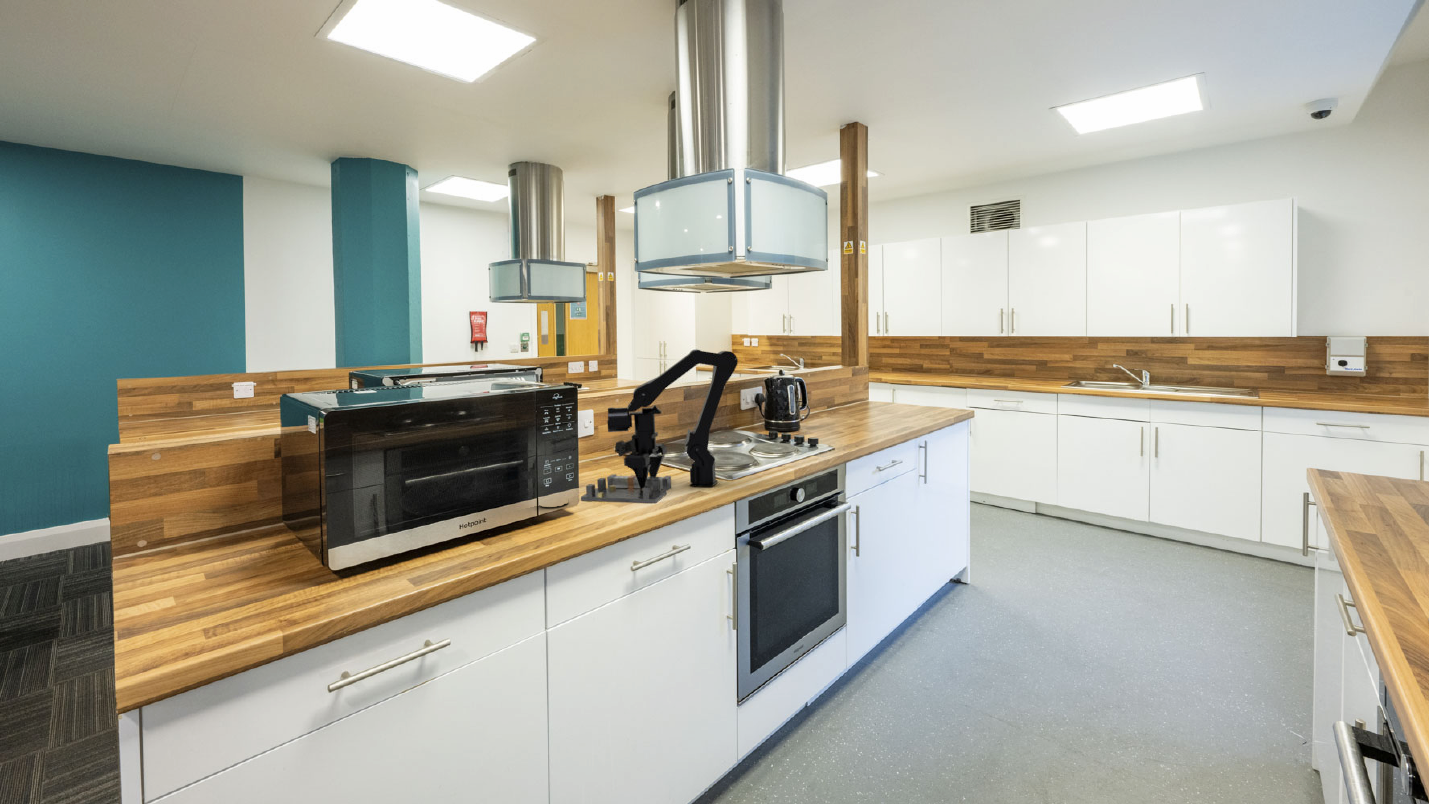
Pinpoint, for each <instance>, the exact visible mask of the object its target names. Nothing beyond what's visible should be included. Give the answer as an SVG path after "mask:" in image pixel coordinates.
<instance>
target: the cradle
mask: <svg viewBox="0 0 1429 804" xmlns="http://www.w3.org/2000/svg"><path fill="white" fill-rule="evenodd" d="M596 483H597V488H596V484H595V483H594V484H593V483H591V484H587V485H586V486H585V489H586V490H585V491H586V493H585V494H583V495H581V496H580V501H585V502H608V503H610V502H613V503H635V504H637V503H638V504H639V503H643V504H656V503H658V502H659V501H661V500H662V499H663V498H664V497H665V496H666V495H667V490H663V489H660V480H659V479H654V480H653V481H652V489H651V486H644V487H643V489H636V488H635V489H628V488H616V486H615V485H611V486H609V489H608V488H607V477H600V478H598V479H597V482H596ZM663 496H664V497H663ZM658 500H659V501H658ZM657 501H658V502H657Z"/></svg>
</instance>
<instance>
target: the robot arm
mask: <svg viewBox="0 0 1429 804" xmlns="http://www.w3.org/2000/svg"><path fill="white" fill-rule="evenodd" d="M738 363H739V361H738V358H737V355H736V354H735V353H734V352H732V351H729V350H721V351H719V352H717V353H716V352H709V351H704V350H701V349H692V350H690V352H689V353H688V354H687V355H685V356H683V358H681V359H680V360H679V361H677V362H676V363H675V364H673V365H672V366H670V367H669V368H668V369H667V370H665V371H664V372H662V373H661V374H660V375H658V376H657V377H655V378H653V379H650V380H649V381H645V382H644V383H642V384H640V385H638V386H637V387H635V388H634V390H633V392H632V394H633V395H632V400H631V401H630V403H628V405H627V406H626V407H608V408H607V421H606V422H607V432H608V433H618V432H629V429H631V428H633V423H634V434H632V435H631V439H630V440H627V441H624V440H623V439H622V440H620V441H618V442H615V446H614V452H615V453H617V454H618V456H619V457H622V456H624V455H626V454H628V455H626V456H625V457H624V458H623V465H624V466H625V467H627V468H629V469H631V470H632V471H633V473H634V475H636V477H637V480H638V483H639V486H640V488H639V489H642V488H643V487H644V486H645V484H646V481H647V477H658V476H657V475H658V472H659V470H660V468H661V465H662V463H663V461H664V458H665V455H666V454H667V453H668V452H667V446H666V445H665V444H664V443H657V439H656V437H658V435H659V434H658V433H659V432H657V431H656V421H655V420H656V419H655V418H656V417H655V415H660V414H662V411H661V409H659V408H658V407H657V406H656V404H654V405H653V406H652V407H649V406H651V405H652V404H653V403H654V402H655V401H656V400H657V399H658V397H659V396H660V395H661V394H662V393H663V392H664V390H666V389H667V388H668V387H669V386H670V385H672V384H673V383H674V382H676V381H678V380H679V379H680V378H681V377H682V376H684V375H685V374H687V373H688V372H690V370H692V369H693V368H694V367H696V366H697V365H699V364H700V365H706V366H711V367H712V375H711V376H712V377H711V381H710V385H709V387H708V390H707V393H706V396H705V399H704V402H703V405H702V408H701V412H700V413H699V417H698V419H697V423H696V425H695V427H693V429H692V430H690V429H687V432H686V433H687V434H686V438H685V439H684V441H683V444H684V450H685V452H686V454H687V456H688V458H689V459H690V460H693V462H692V463H691V468H690V469H689V476H690V478H689V479H690V487H701V488H702V487H706V488H710V487H711V488H712V487H713V486H714V485H716V483H717V482H718V480H717V477H716V462H715V460H716V459H715V456H714V455H713V454H712V452H711V451H710V450H709V448H708V447H709V441H710V431H711V427H712V425H713V421H714V418H715V417H716V416H715V415H716V413H717V410H718V408H719V407H718V406H719V404H720V401H721V398H722V395H723V392H724V389H725V387H726V384H727V383H728V382H729V380H730V379H731V377H732V375H733V373H734V372H735V369H736V368H737V366H738ZM640 409H641V410H640ZM638 410H640V411H638ZM632 418H633V420H632ZM633 421H634V422H633Z"/></svg>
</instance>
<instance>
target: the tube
mask: <svg viewBox="0 0 1429 804" xmlns="http://www.w3.org/2000/svg"><path fill="white" fill-rule="evenodd" d="M654 479H659V480H660V489H661V490H666V491H668V492H669V490H670V489H672V476H671V475H665V476H656V477H650V476H648V477H647V481H646V484H645V486H651V490H652V481H653V480H654ZM606 483H607V489H609V486H611V485H615V486H616V489H635V490H636V489H641V490H643V488H640V486H639V483H638V480H637V477H636V475H635V474H631V475H617V474H613V473H612V474H610V475H608V476H607V477H606Z"/></svg>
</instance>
